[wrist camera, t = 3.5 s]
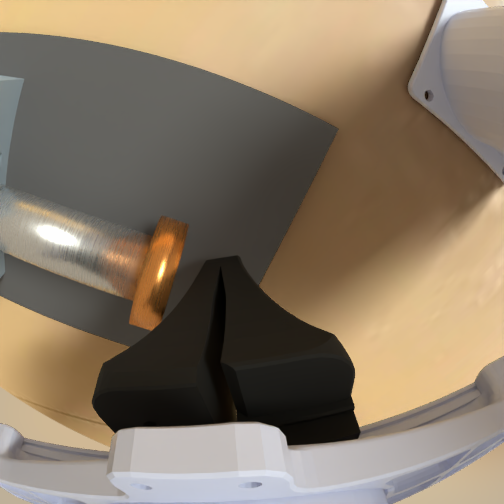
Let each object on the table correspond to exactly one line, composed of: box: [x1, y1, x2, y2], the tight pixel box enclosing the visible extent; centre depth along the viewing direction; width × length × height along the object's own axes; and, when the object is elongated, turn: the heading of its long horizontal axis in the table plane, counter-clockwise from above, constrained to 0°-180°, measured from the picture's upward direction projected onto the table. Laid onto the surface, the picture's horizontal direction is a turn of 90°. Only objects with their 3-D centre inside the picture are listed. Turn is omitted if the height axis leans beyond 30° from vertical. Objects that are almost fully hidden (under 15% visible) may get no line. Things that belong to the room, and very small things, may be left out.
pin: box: [0, 184, 189, 331], centre depth 9 cm, size 11×4×4 cm, turn 67°
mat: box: [0, 32, 338, 347], centre depth 11 cm, size 20×14×1 cm
